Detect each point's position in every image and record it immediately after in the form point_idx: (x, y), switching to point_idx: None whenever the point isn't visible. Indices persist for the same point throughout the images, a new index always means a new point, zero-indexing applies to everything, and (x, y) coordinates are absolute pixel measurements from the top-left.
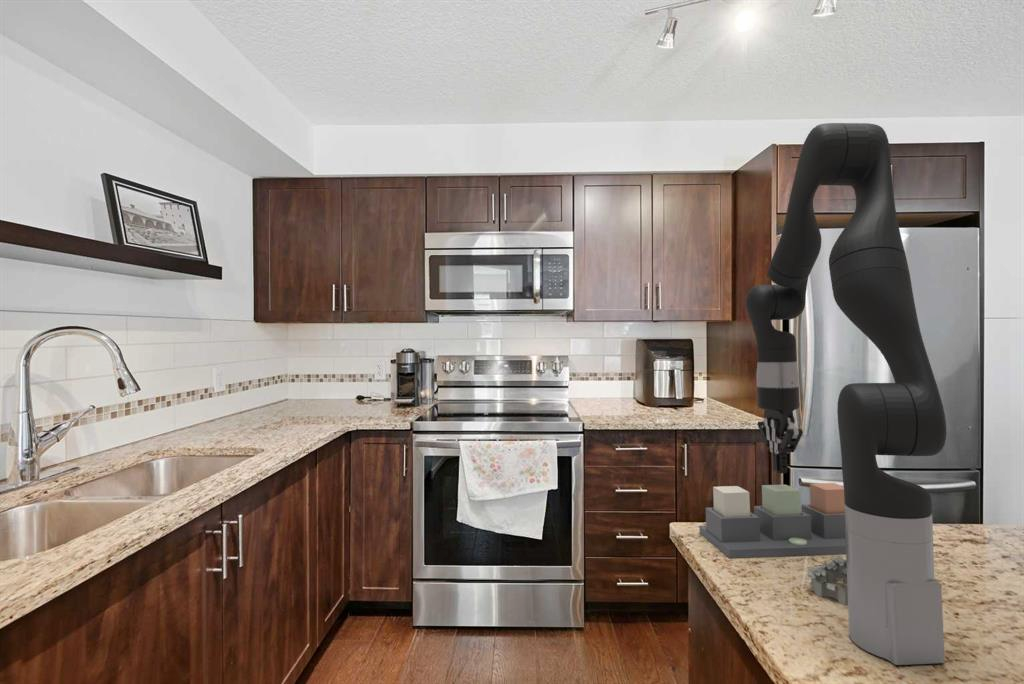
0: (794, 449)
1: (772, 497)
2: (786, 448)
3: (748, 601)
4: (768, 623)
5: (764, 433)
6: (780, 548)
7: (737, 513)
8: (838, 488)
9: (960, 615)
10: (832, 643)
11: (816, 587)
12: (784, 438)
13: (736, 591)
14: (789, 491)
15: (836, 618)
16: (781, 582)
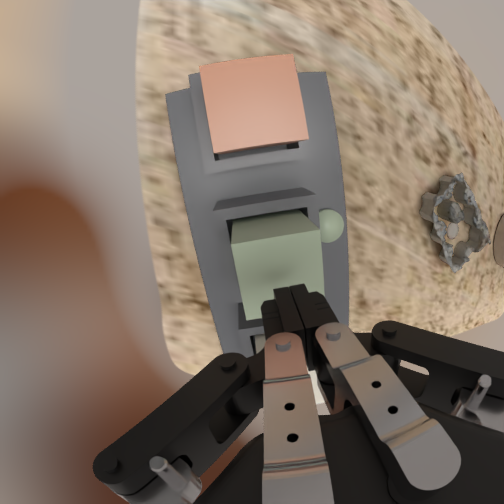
0: (409, 328)
1: None
2: (399, 364)
3: (443, 328)
4: (471, 317)
5: (215, 460)
6: (348, 265)
7: None
8: (285, 85)
9: (486, 135)
10: (497, 279)
11: (456, 262)
12: (439, 408)
13: None
14: (321, 263)
15: (481, 260)
16: (420, 287)
